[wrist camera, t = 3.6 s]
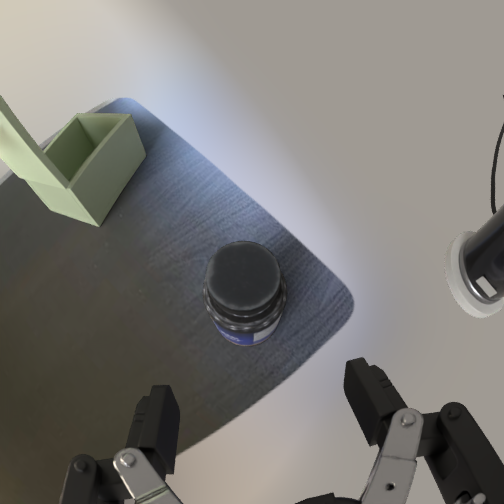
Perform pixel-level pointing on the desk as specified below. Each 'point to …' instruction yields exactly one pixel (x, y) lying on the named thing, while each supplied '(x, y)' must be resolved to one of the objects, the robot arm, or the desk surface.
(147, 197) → the desk surface
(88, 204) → the pale green open box
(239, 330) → the pill bottle
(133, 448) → the robot arm
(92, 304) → the desk surface
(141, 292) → the desk surface
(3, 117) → the green box lid
